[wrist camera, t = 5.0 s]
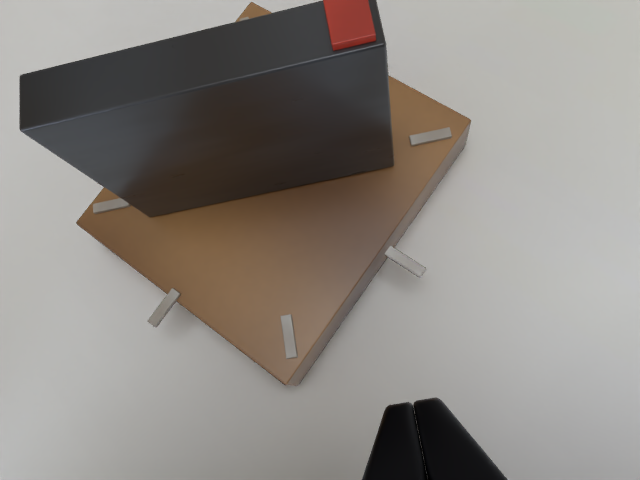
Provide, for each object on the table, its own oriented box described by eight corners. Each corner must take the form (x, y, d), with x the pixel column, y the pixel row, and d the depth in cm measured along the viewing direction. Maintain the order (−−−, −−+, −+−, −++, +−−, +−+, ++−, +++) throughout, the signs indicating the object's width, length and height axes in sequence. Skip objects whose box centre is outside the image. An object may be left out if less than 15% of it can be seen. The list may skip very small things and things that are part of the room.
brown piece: (315, 441, 19) (304, 447, 17) (59, 238, 23) (24, 223, 21) (519, 141, 21) (531, 114, 19) (250, -2, 24) (236, -39, 22)
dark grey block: (149, 218, 20) (11, 126, 13) (146, 177, 20) (11, 69, 14) (394, 166, 19) (385, 38, 12) (385, 125, 19) (372, -21, 13)
